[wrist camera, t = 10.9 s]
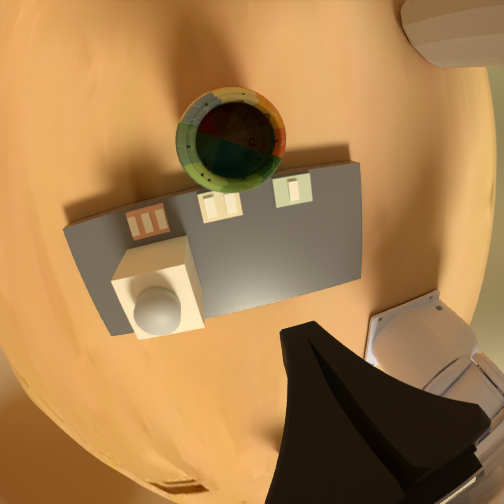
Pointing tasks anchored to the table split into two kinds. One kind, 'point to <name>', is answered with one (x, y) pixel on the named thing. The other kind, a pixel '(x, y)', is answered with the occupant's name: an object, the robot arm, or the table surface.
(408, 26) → the water bottle
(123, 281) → the selector knob
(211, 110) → the jar
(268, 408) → the table surface
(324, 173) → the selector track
